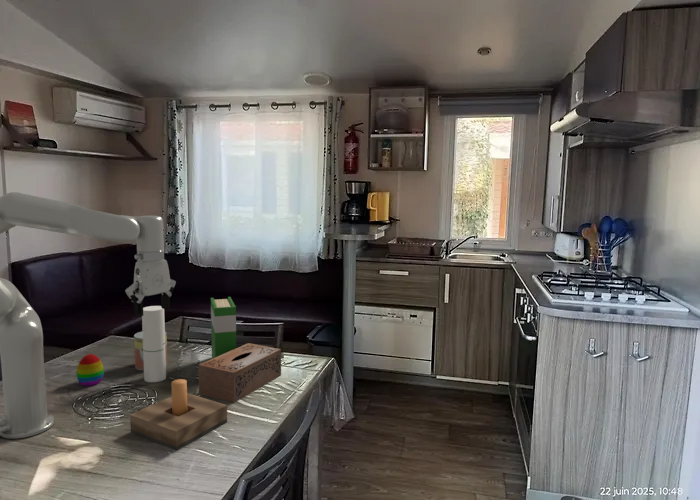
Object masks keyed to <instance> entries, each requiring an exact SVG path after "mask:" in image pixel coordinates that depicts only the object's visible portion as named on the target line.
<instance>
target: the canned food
mask: <svg viewBox="0 0 700 500" xmlns="http://www.w3.org/2000/svg"><path fill="white" fill-rule="evenodd" d="M133 338H134V363H135V367H134V368H135V369H136V370H139V371H144V359H143V331H142V330H141V331H138V332H136V333H135V334H134V335H133ZM167 341H168V337H167V331H166V330H165V353H166V366H167V365H168V348H167V346H168V343H167Z"/></svg>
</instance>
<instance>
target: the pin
mask: <svg viewBox="0 0 700 500" xmlns="http://www.w3.org/2000/svg"><path fill="white" fill-rule="evenodd" d="M187 383H188V381H187V379H184V378H183V379H182V378H178V379H175V380H173V381H171V383H170V384H171V396H172V414H173V415H175V416H178V417H179V416H181V415H183V414H185V413H187V393H188V386H187V385H188V384H187Z"/></svg>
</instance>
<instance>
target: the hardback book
mask: <svg viewBox="0 0 700 500" xmlns="http://www.w3.org/2000/svg"><path fill="white" fill-rule="evenodd" d="M210 319H211V320H210V325H211V326H210V327H211V328H210V329H211V330H210V331H211V332H210V333H211V336H210V337H211V359H213V358H215V357H218V356H220V355H222V354H224V353H227V352H229V351H231V350H234V349H236V348H237V305H235V303H234V301H233V299H232V297H231V296H227V298H222V299H220V298H219V299H215V298H214V297H210Z"/></svg>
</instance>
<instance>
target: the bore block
mask: <svg viewBox="0 0 700 500" xmlns="http://www.w3.org/2000/svg"><path fill="white" fill-rule="evenodd" d="M129 421H130V424H129V425H130V433H132V434H134V435H137V436H140V437H141V438H144V439H148V440H149V441H153V442H155V443H158V444H159V445H162V446H165V447H168V448H170V449H173V450H175V451H179V449H182V448H183V447H185V446H187V445H188V444H191V443H193V442H195V441H196V440H198V439H199V438H201V437H203V436H205V435H206V434H209V433H210V432H212V431H214V430H215V429H217V428H218V427H221V426H223V425H224V424H226V423H228V404H224V403H221V402H218V401H215V400H211V399H208V398H205V397H201V396H199V395H195V394H192V393H188V392H187V413H185V414H183V415H181V416H179V417H178V416H175V415H173V414H172V395H171V396H169V397H167V398H165V399H163V400H160V401H158V402H156V403H153V404H150V405H148V406H147V407H143V408H142V409H140V410H138V411H136V412H133V413H131V414H129Z"/></svg>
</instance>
